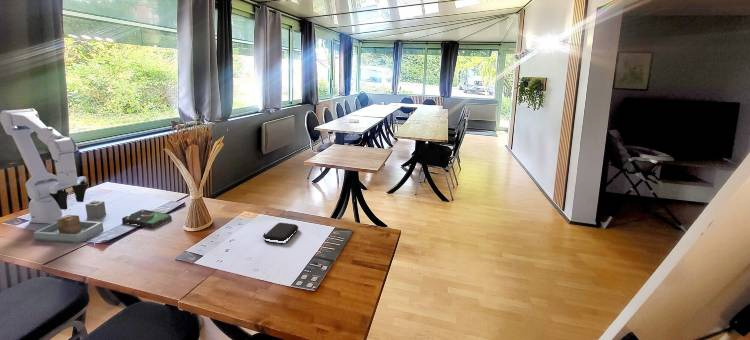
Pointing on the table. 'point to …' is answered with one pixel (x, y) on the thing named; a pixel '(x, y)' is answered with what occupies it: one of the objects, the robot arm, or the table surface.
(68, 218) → the walnut block
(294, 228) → the carrying case or bag
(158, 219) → the disk drive
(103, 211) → the grey button block
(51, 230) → the tray
